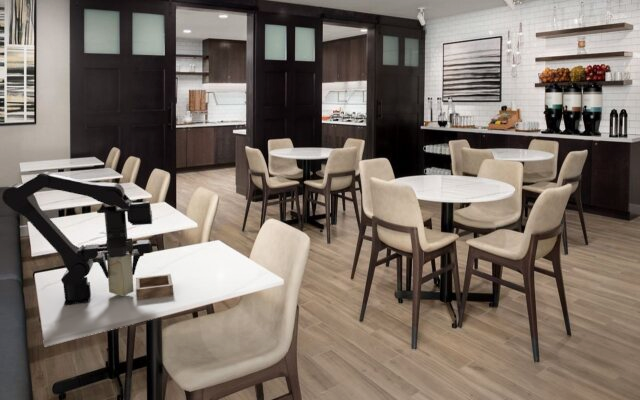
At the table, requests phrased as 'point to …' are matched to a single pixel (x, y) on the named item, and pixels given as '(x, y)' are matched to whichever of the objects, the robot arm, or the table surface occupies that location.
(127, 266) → the skincare box
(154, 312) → the table surface
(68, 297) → the robot arm
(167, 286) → the box
